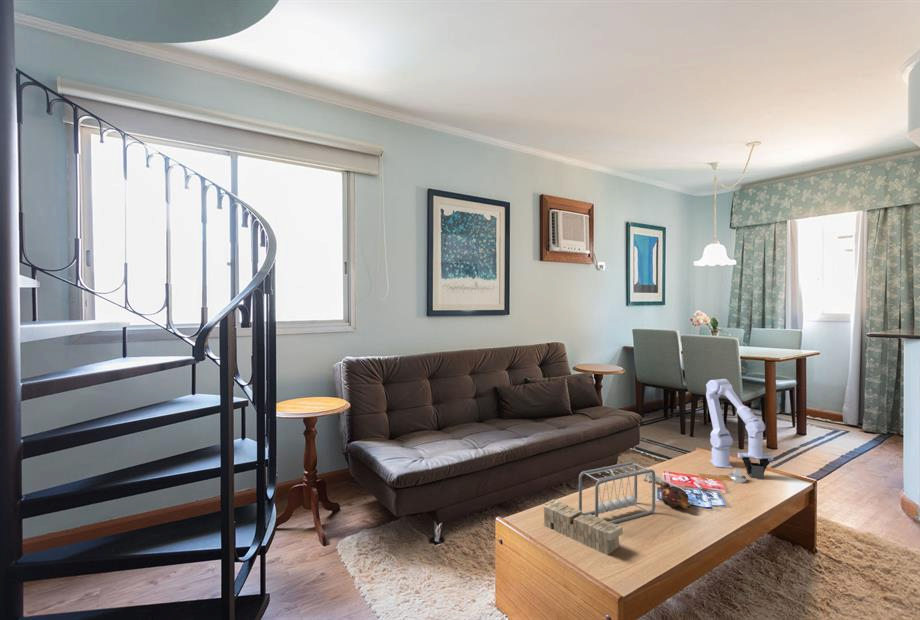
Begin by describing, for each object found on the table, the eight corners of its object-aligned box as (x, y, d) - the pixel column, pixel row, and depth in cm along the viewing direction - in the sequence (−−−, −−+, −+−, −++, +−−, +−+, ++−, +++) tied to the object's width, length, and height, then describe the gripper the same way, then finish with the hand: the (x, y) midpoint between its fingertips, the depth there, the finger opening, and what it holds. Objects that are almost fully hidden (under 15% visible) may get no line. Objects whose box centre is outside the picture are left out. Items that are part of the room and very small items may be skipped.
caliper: (643, 481, 209) (643, 468, 209) (644, 480, 210) (644, 467, 210) (688, 495, 193) (688, 481, 193) (689, 494, 194) (689, 480, 194)
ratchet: (701, 480, 209) (701, 469, 209) (697, 475, 216) (697, 464, 216) (748, 483, 205) (748, 472, 205) (742, 478, 212) (742, 467, 212)
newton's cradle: (596, 528, 165) (596, 481, 165) (578, 516, 175) (578, 471, 174) (655, 513, 177) (655, 468, 177) (635, 502, 187) (635, 460, 186)
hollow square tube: (746, 474, 216) (746, 462, 216) (758, 475, 215) (758, 462, 215) (751, 478, 211) (751, 466, 211) (763, 479, 210) (763, 466, 210)
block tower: (541, 527, 168) (610, 558, 146) (540, 505, 169) (610, 532, 146) (554, 520, 174) (623, 549, 151) (553, 499, 174) (622, 524, 151)
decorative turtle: (667, 496, 192) (669, 478, 192) (698, 513, 178) (700, 494, 178) (650, 499, 188) (652, 480, 188) (680, 517, 175) (682, 497, 174)
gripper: (742, 447, 210) (742, 475, 211) (776, 449, 207) (776, 477, 208) (736, 442, 217) (735, 470, 217) (769, 444, 214) (769, 472, 214)
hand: (755, 473), depth 213 cm, fingers closed on hollow square tube, 5 cm apart
